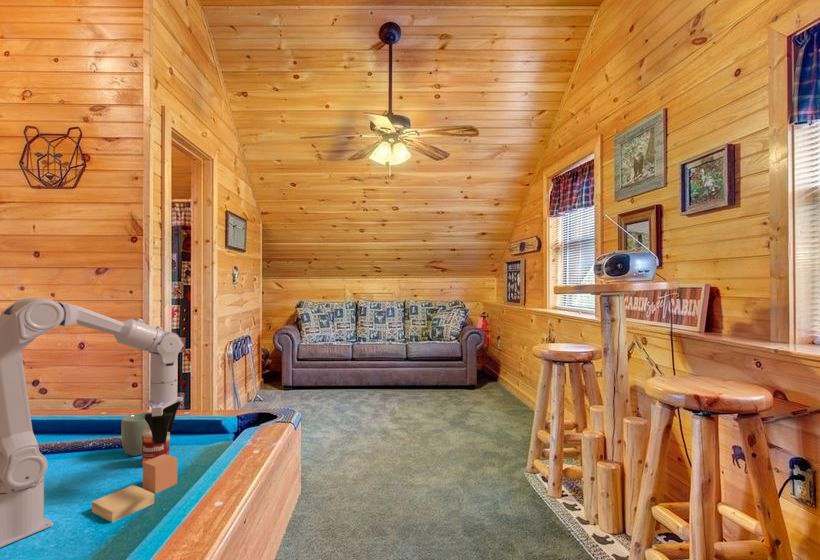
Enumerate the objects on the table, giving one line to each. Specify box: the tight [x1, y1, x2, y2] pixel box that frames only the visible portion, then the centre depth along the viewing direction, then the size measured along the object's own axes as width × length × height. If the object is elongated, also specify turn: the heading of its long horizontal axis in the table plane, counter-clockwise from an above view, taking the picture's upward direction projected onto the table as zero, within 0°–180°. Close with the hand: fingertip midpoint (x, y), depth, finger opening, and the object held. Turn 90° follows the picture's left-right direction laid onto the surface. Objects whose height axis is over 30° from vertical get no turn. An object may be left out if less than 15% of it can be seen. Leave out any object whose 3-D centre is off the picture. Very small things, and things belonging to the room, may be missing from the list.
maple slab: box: [91, 484, 155, 523], centre depth 85 cm, size 8×8×2 cm
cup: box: [120, 411, 151, 457], centre depth 113 cm, size 8×8×10 cm
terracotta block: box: [142, 454, 178, 494], centre depth 95 cm, size 5×5×6 cm
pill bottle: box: [141, 422, 171, 465], centre depth 107 cm, size 6×6×11 cm
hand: (163, 437), depth 99 cm, fingers open, 7 cm apart
